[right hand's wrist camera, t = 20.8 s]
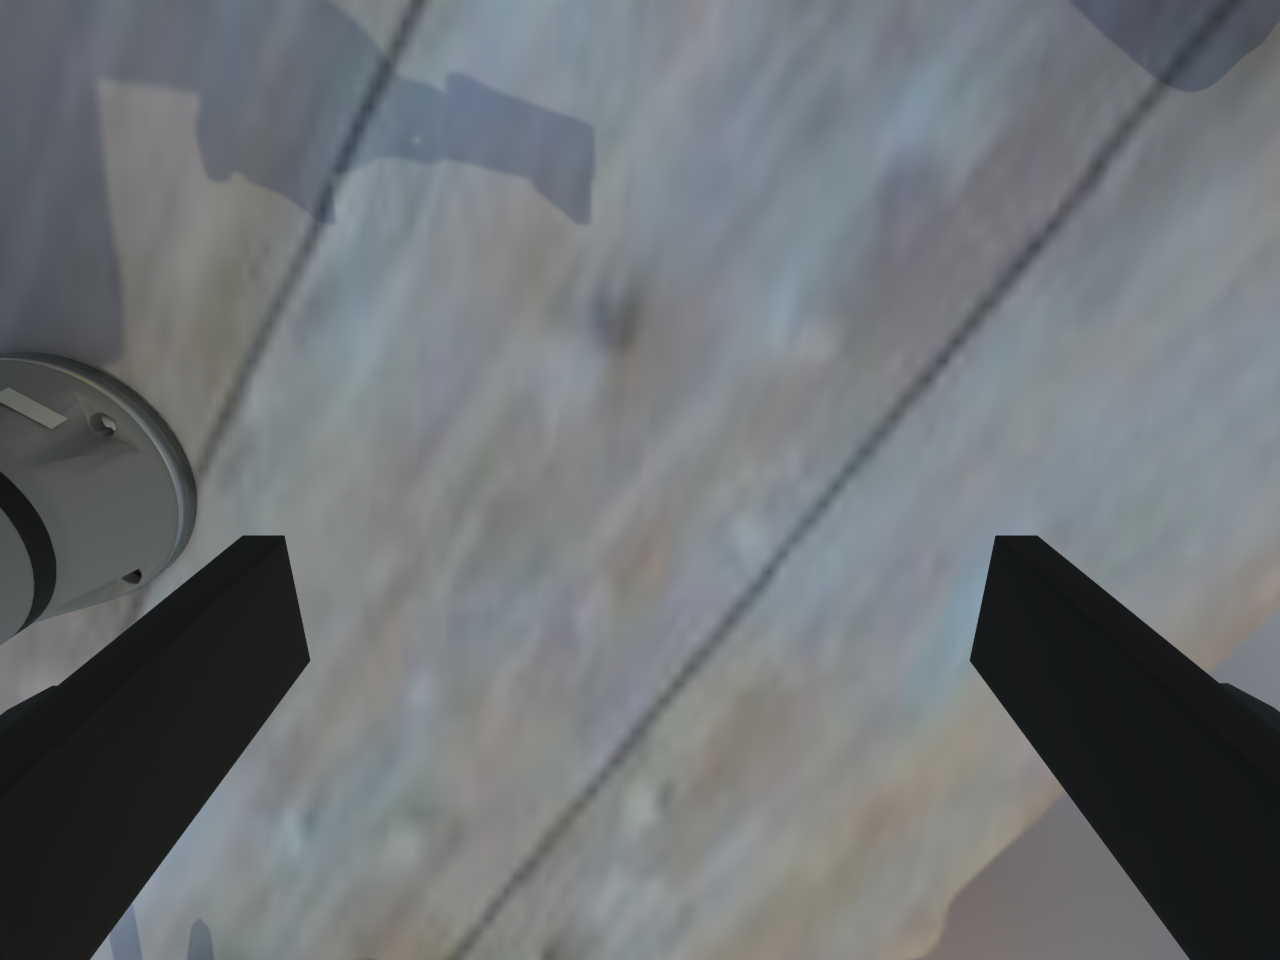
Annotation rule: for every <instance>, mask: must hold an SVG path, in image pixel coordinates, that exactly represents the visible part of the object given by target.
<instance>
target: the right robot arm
mask: <svg viewBox="0 0 1280 960" xmlns="http://www.w3.org/2000/svg"><path fill="white" fill-rule="evenodd" d="M195 516H196V494H195V487H194V482H193V478H192V474H191V471H190V468H189V465H188V463H187V460H186V458H185V456H184V454H183V452H182V450H181V448H180V446H179V444H178V442H177V441H176V439H175V438H174V436H173V434H172V433H171V432H170V430H169V429H168V427H167V426H166V425H165V423H164V422H163V421H162V420H161V419H160V418H159V416H158V415H157V414H156V413H155V412H154V411H153V410H152V409H151V408H150V407H149V406H148V405H147V404H146V403H145V402H144V401H143V400H142V399H140V398H139V397H138V396H137V395H136V394H134V393H133V392H132V391H131V390H129V389H128V388H126V387H125V386H124V385H122V384H121V383H119V382H118V381H116V380H114V379H113V378H111V377H109V376H108V375H106V374H104V373H102V372H100V371H98V370H96V369H94V368H91V367H89V366H87V365H84V364H82V363H79V362H76V361H73V360H70V359H66V358H62V357H57V356H52V355H46V354H36V353H15V354H8V355H1V356H0V645H2V644H3V643H4V642H6V641H7V640H8V639H10V638H11V637H13V636H14V635H16V634H17V633H19V632H20V631H22V630H23V629H25V628H26V627H28V626H29V625H31V624H32V623H34V622H37V621H41V620H44V619H47V618H51V617H54V616H58V615H61V614H65V613H68V612H71V611H75V610H78V609H82V608H85V607H89V606H92V605H95V604H99V603H102V602H106V601H109V600H113V599H116V598H118V597H121V596H123V595H126V594H129V593H131V592H133V591H135V590H137V589H139V588H141V587H142V586H144V585H146V584H147V583H148V582H150V581H151V580H152V579H154V578H155V577H156V576H158V575H159V574H160V573H162V572H163V571H164V570H165V569H167V568H168V567H169V566H170V565H171V564H172V563H173V562H174V561H175V560H176V559H177V558H178V557H179V556H180V554H181V553H182V552H183V550H184V548H185V547H186V545H187V543H188V541H189V539H190V536H191V534H192V530H193V527H194V523H195ZM309 662H310V657H309V652H308V647H307V642H306V638H305V633H304V628H303V623H302V618H301V614H300V609H299V604H298V599H297V594H296V589H295V585H294V580H293V575H292V570H291V565H290V560H289V556H288V551H287V546H286V541H285V536H242V537H240V538H239V539H238V540H237V541H236V542H234V543H233V544H232V545H231V546H229V547H228V548H227V549H226V550H224V551H223V552H222V553H221V554H220V555H218V556H217V557H216V558H215V559H213V560H212V561H211V562H210V563H208V564H207V565H206V566H205V567H203V568H202V569H201V570H200V571H199V572H197V573H196V574H195V575H194V576H192V577H191V578H190V579H189V580H187V581H186V582H185V583H184V584H183V585H181V586H180V587H179V588H178V589H176V590H175V591H174V592H173V593H171V594H170V595H169V596H168V597H167V598H165V599H164V600H163V601H162V602H160V603H159V604H158V605H157V606H155V607H154V608H153V609H152V610H151V611H149V612H148V613H147V614H146V615H144V616H143V617H142V618H141V619H139V620H138V621H137V622H136V623H134V624H133V625H132V626H131V627H130V628H128V629H127V630H126V631H125V632H123V633H122V634H121V635H120V636H118V637H117V638H116V639H115V640H114V641H112V642H111V643H110V644H109V645H107V646H106V647H105V648H104V649H102V650H101V651H100V652H99V653H98V654H96V655H95V656H94V657H93V658H91V659H90V660H89V661H88V662H86V663H85V664H84V665H83V666H82V667H80V668H79V669H78V670H77V671H75V672H74V673H73V674H72V675H70V676H69V677H68V678H67V679H65V680H64V681H63V682H62V683H61V684H59V685H58V686H51V687H49V688H48V689H46V690H44V691H42V692H40V693H38V694H36V695H34V696H33V697H31V698H29V699H27V700H25V701H23V702H21V703H20V704H18V705H16V706H14V707H12V708H10V709H8V710H7V711H5V712H4V713H3V714H2V715H0V960H90V959H91V958H92V956H93V955H94V953H95V952H96V951H97V949H98V948H99V947H100V945H101V944H102V943H103V941H104V940H105V939H106V937H107V936H108V934H109V933H110V932H111V930H112V929H113V928H114V926H115V925H116V924H117V922H118V921H119V920H120V918H121V917H122V915H123V914H124V913H125V911H126V910H127V909H128V907H129V906H130V905H131V903H132V902H133V901H134V899H135V898H136V896H137V895H138V894H139V892H140V891H141V890H142V888H143V887H144V886H145V884H146V883H147V882H148V880H149V879H150V877H151V876H152V875H153V873H154V872H155V871H156V869H157V868H158V867H159V865H160V864H161V863H162V861H163V860H164V858H165V857H166V856H167V854H168V853H169V852H170V850H171V849H172V848H173V846H174V845H175V844H176V842H177V841H178V839H179V838H180V837H181V835H182V834H183V833H184V831H185V830H186V829H187V827H188V826H189V825H190V823H191V822H192V820H193V819H194V818H195V816H196V815H197V814H198V812H199V811H200V810H201V808H202V807H203V806H204V804H205V803H206V801H207V800H208V799H209V797H210V796H211V795H212V793H213V792H214V791H215V789H216V788H217V787H218V785H219V784H220V782H221V781H222V780H223V778H224V777H225V776H226V774H227V773H228V772H229V770H230V769H231V768H232V766H233V765H234V763H235V762H236V761H237V759H238V758H239V757H240V755H241V754H242V753H243V751H244V750H245V749H246V747H247V746H248V744H249V743H250V742H251V740H252V739H253V738H254V736H255V735H256V734H257V732H258V731H259V730H260V728H261V727H262V725H263V724H264V723H265V721H266V720H267V719H268V717H269V716H270V715H271V713H272V712H273V711H274V709H275V708H276V706H277V705H278V704H279V702H280V701H281V700H282V698H283V697H284V696H285V694H286V693H287V692H288V690H289V689H290V687H291V686H292V685H293V683H294V682H295V681H296V679H297V678H298V677H299V675H300V674H301V673H302V671H303V670H304V668H305V667H306V666H307V664H308V663H309ZM970 662H971V663H972V664H973V666H974V667H975V668H976V670H977V671H978V673H979V674H980V675H981V677H982V678H983V679H984V681H985V682H986V683H987V685H988V686H989V687H990V689H991V690H992V692H993V693H994V694H995V696H996V697H997V698H998V700H999V701H1000V702H1001V704H1002V705H1003V706H1004V708H1005V709H1006V711H1007V712H1008V713H1009V715H1010V716H1011V717H1012V719H1013V720H1014V721H1015V723H1016V724H1017V725H1018V727H1019V728H1020V730H1021V731H1022V732H1023V734H1024V735H1025V736H1026V738H1027V739H1028V740H1029V742H1030V743H1031V744H1032V746H1033V747H1034V749H1035V750H1036V751H1037V753H1038V754H1039V755H1040V757H1041V758H1042V759H1043V761H1044V762H1045V763H1046V765H1047V766H1048V768H1049V769H1050V770H1051V772H1052V773H1053V774H1054V776H1055V777H1056V778H1057V780H1058V781H1059V782H1060V784H1061V785H1062V787H1063V788H1064V789H1065V791H1066V792H1067V793H1068V795H1069V796H1070V797H1071V799H1072V800H1073V801H1074V803H1075V804H1076V806H1077V807H1078V808H1079V810H1080V811H1081V812H1082V814H1083V815H1084V816H1085V818H1086V819H1087V820H1088V822H1089V823H1090V824H1091V826H1092V827H1093V829H1094V830H1095V831H1096V833H1097V834H1098V835H1099V837H1100V838H1101V839H1102V841H1103V842H1104V844H1105V845H1106V846H1107V848H1108V849H1109V850H1110V852H1111V853H1112V854H1113V856H1114V857H1115V858H1116V860H1117V861H1118V863H1119V864H1120V865H1121V867H1122V868H1123V869H1124V871H1125V872H1126V873H1127V875H1128V876H1129V877H1130V879H1131V880H1132V882H1133V883H1134V884H1135V886H1136V887H1137V888H1138V890H1139V891H1140V892H1141V894H1142V895H1143V896H1144V898H1145V899H1146V901H1147V902H1148V903H1149V905H1150V906H1151V907H1152V909H1153V910H1154V911H1155V913H1156V914H1157V915H1158V917H1159V918H1160V920H1161V921H1162V922H1163V924H1164V925H1165V926H1166V928H1167V929H1168V930H1169V932H1170V933H1171V934H1172V936H1173V937H1174V938H1175V940H1176V941H1177V943H1178V944H1179V945H1180V947H1181V948H1182V949H1183V951H1184V952H1185V953H1186V955H1187V956H1188V958H1189V959H1190V960H1280V712H1279V711H1278V710H1276V709H1275V708H1274V707H1272V706H1270V705H1268V704H1266V703H1264V702H1262V701H1260V700H1259V699H1257V698H1255V697H1253V696H1251V695H1249V694H1247V693H1245V692H1244V691H1242V690H1240V689H1238V688H1236V687H1234V686H1232V685H1230V684H1228V683H1218V682H1217V681H1216V680H1214V679H1213V678H1212V677H1211V676H1210V675H1208V674H1207V673H1206V672H1205V671H1203V670H1202V669H1201V668H1200V667H1198V666H1197V665H1196V664H1195V663H1194V662H1192V661H1191V660H1190V659H1189V658H1187V657H1186V656H1185V655H1184V654H1182V653H1181V652H1180V651H1179V650H1178V649H1176V648H1175V647H1174V646H1173V645H1171V644H1170V643H1169V642H1168V641H1166V640H1165V639H1164V638H1163V637H1162V636H1160V635H1159V634H1158V633H1157V632H1155V631H1154V630H1153V629H1152V628H1150V627H1149V626H1148V625H1147V624H1146V623H1144V622H1143V621H1142V620H1141V619H1139V618H1138V617H1137V616H1136V615H1134V614H1133V613H1132V612H1131V611H1129V610H1128V609H1127V608H1126V607H1125V606H1123V605H1122V604H1121V603H1120V602H1118V601H1117V600H1116V599H1115V598H1113V597H1112V596H1111V595H1110V594H1109V593H1107V592H1106V591H1105V590H1104V589H1102V588H1101V587H1100V586H1099V585H1097V584H1096V583H1095V582H1094V581H1093V580H1091V579H1090V578H1089V577H1088V576H1086V575H1085V574H1084V573H1083V572H1081V571H1080V570H1079V569H1078V568H1077V567H1075V566H1074V565H1073V564H1072V563H1070V562H1069V561H1068V560H1067V559H1065V558H1064V557H1063V556H1062V555H1060V554H1059V553H1058V552H1057V551H1056V550H1054V549H1053V548H1052V547H1051V546H1049V545H1048V544H1047V543H1046V542H1044V541H1043V540H1042V539H1041V538H1040V537H1038V536H995V541H994V546H993V551H992V556H991V560H990V565H989V570H988V575H987V580H986V585H985V589H984V594H983V599H982V604H981V609H980V614H979V618H978V623H977V628H976V633H975V638H974V642H973V647H972V652H971V657H970Z"/></svg>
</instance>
